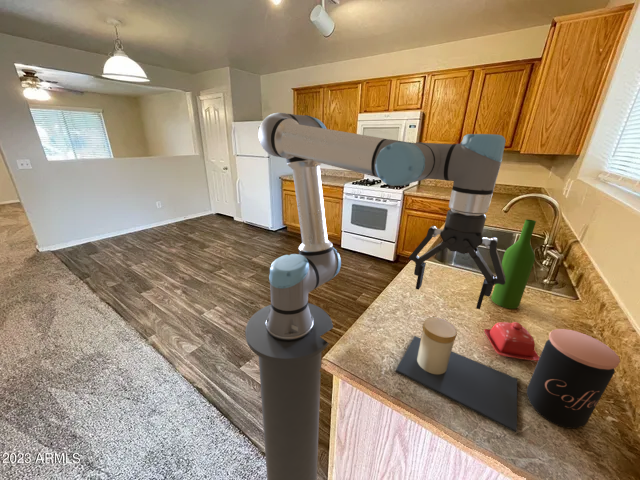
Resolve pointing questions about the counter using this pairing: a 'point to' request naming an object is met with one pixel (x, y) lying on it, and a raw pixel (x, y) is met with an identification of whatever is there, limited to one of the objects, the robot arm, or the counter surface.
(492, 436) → the counter surface
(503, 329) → the butter dish
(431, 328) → the lid
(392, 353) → the counter surface
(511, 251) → the wine bottle
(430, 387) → the mat
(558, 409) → the coffee jar
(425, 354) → the cream-colored jar
